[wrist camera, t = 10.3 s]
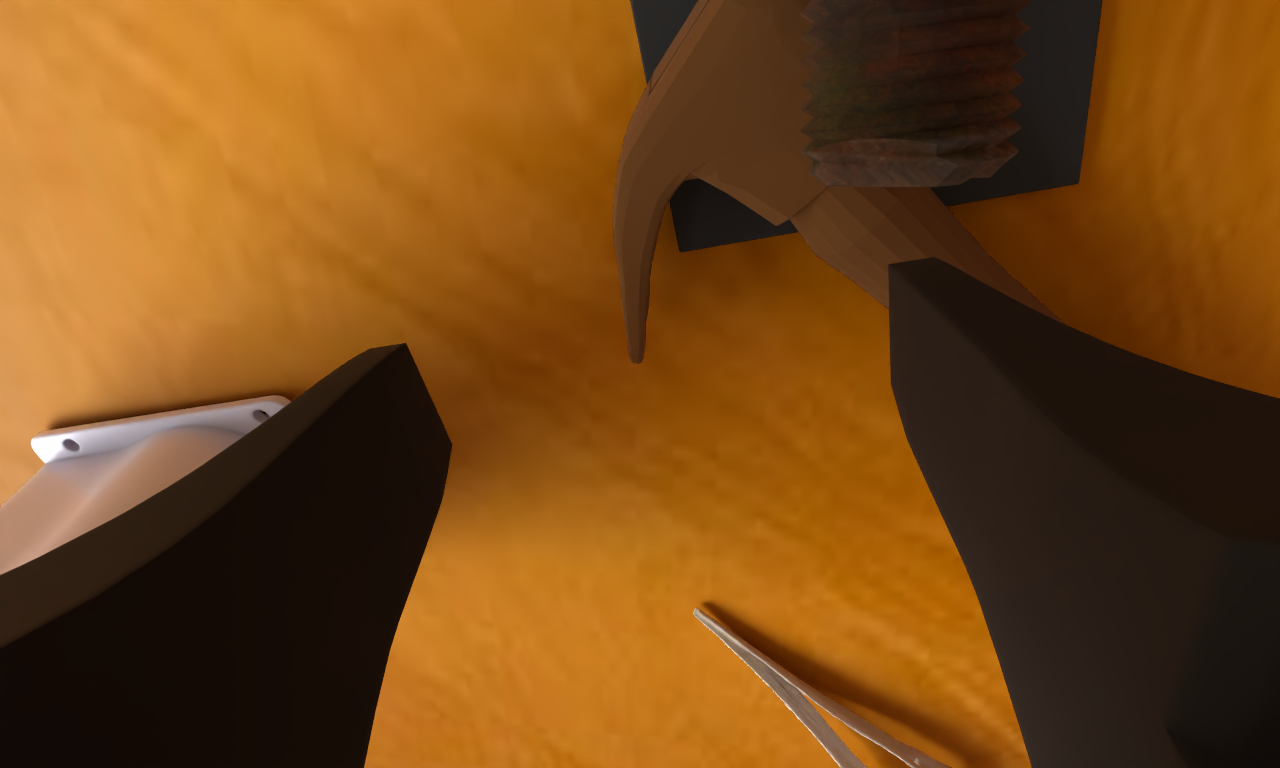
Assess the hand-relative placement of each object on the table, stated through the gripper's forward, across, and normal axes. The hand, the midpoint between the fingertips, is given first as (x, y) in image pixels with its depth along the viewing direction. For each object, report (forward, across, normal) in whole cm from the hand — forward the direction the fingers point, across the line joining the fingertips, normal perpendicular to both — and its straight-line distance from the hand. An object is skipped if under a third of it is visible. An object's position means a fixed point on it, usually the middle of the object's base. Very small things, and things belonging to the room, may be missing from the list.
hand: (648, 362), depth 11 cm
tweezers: (+10, -2, +25) cm, 27 cm away
